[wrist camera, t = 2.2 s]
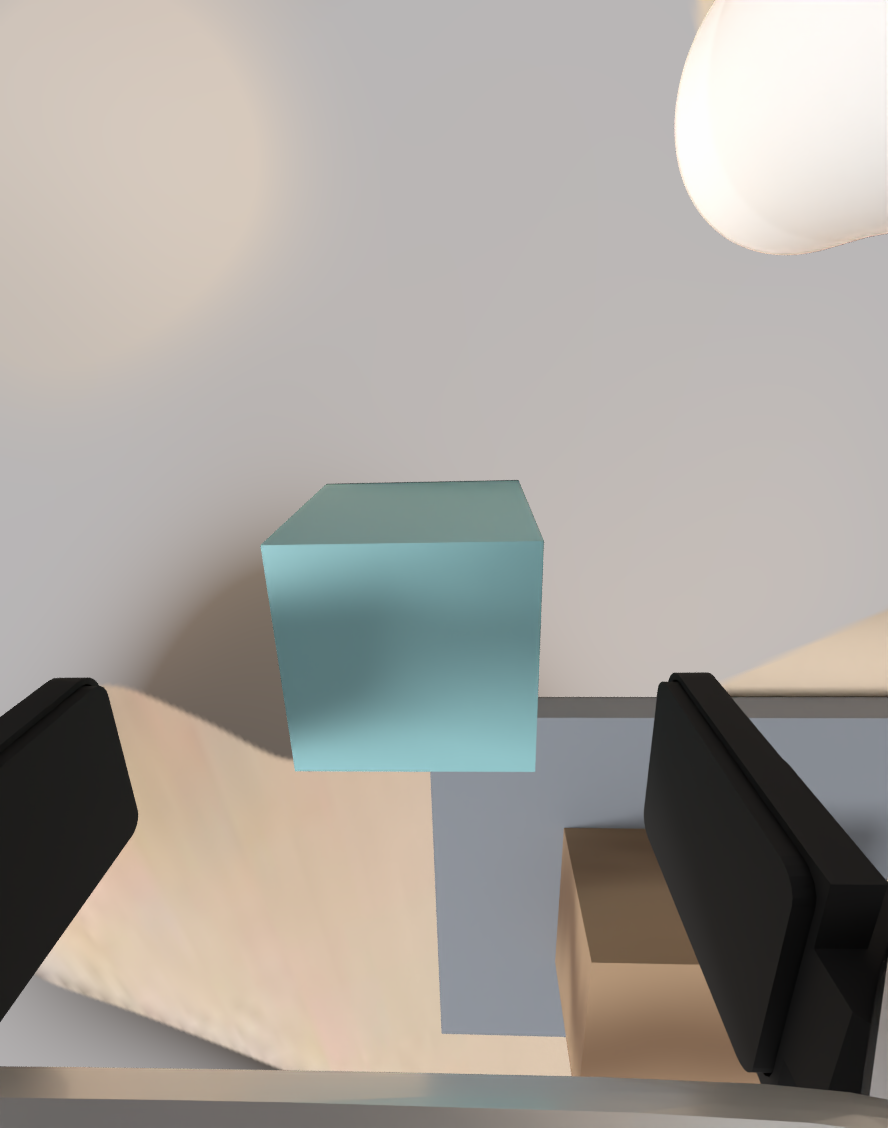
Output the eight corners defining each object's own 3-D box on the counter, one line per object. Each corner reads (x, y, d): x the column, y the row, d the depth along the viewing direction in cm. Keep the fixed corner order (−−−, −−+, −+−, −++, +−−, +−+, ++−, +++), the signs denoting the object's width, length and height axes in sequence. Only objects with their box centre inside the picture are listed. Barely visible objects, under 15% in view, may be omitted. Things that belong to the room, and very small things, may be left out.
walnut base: (564, 827, 17) (591, 962, 13) (765, 829, 17) (852, 967, 13) (555, 962, 19) (576, 1111, 15) (733, 966, 19) (800, 1118, 15)
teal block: (326, 483, 15) (260, 545, 10) (518, 479, 14) (543, 540, 10) (344, 651, 16) (295, 771, 12) (514, 650, 16) (535, 772, 11)
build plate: (430, 697, 17) (428, 717, 16) (915, 697, 16) (943, 718, 15) (442, 1003, 22) (441, 1033, 21) (813, 1013, 21) (829, 1044, 20)
